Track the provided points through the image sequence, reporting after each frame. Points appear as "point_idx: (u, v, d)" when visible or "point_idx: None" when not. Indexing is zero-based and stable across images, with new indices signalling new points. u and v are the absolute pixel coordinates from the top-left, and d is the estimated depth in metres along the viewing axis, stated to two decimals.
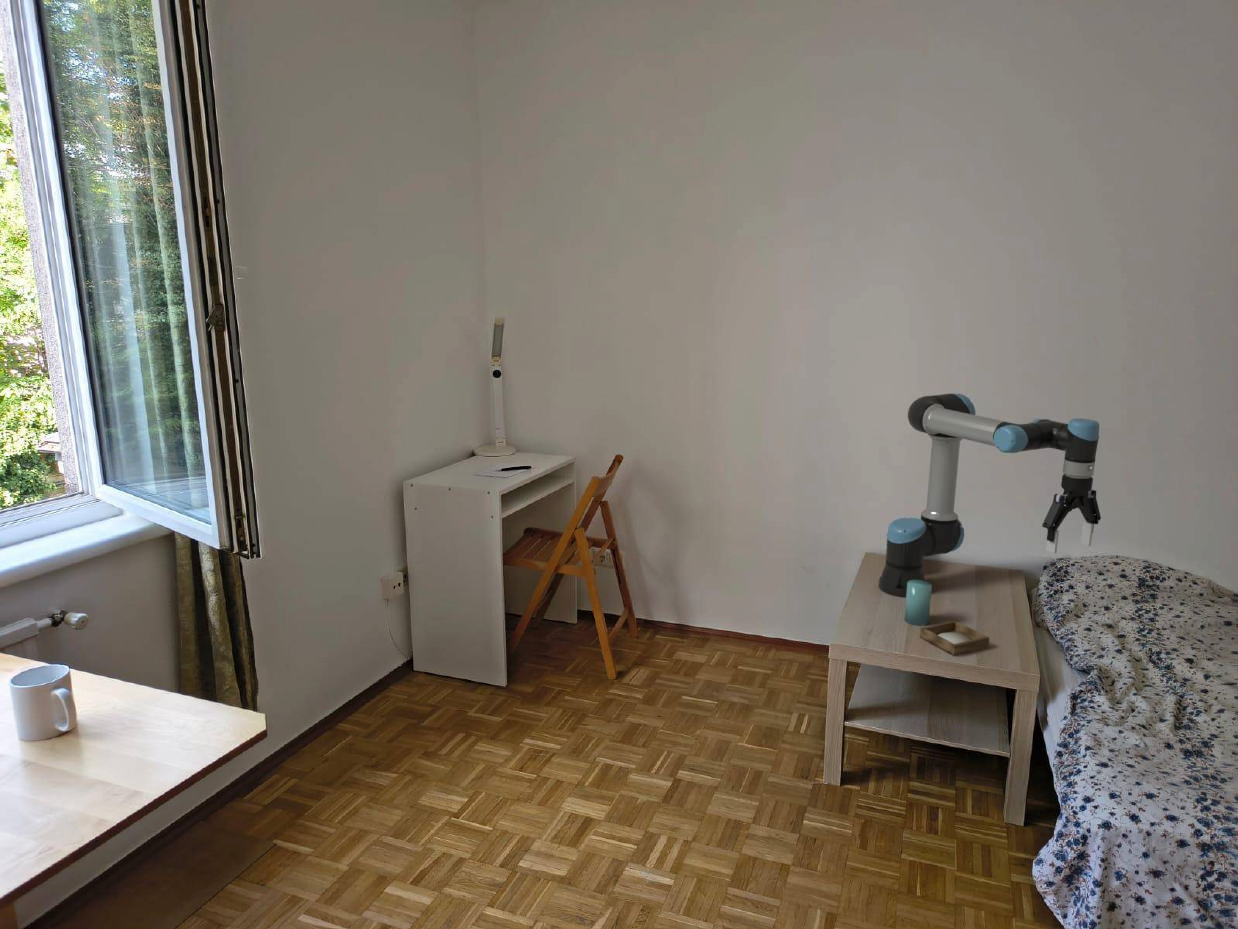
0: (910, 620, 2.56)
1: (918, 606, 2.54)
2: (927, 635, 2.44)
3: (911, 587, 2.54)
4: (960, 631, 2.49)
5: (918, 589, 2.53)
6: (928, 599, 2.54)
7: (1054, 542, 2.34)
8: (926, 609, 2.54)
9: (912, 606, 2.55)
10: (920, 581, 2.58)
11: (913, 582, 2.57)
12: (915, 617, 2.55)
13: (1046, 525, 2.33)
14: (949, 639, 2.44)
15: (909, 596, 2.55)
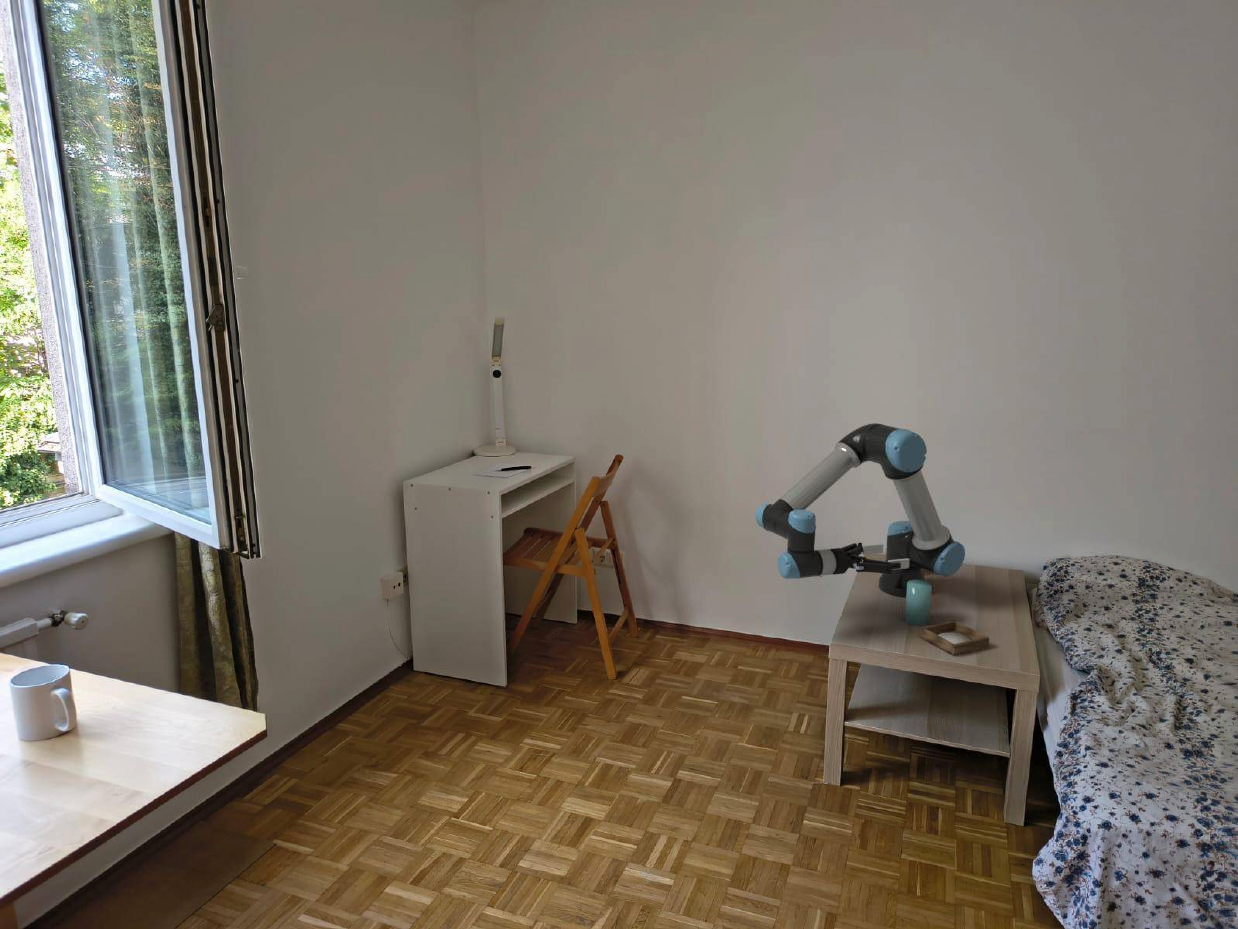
0: (910, 620, 2.56)
1: (918, 606, 2.54)
2: (927, 635, 2.44)
3: (911, 587, 2.54)
4: (960, 631, 2.49)
5: (918, 589, 2.53)
6: (928, 599, 2.54)
7: None
8: (926, 609, 2.54)
9: (912, 606, 2.55)
10: (920, 581, 2.58)
11: (913, 582, 2.57)
12: (915, 617, 2.55)
13: None
14: (949, 639, 2.44)
15: (909, 596, 2.55)
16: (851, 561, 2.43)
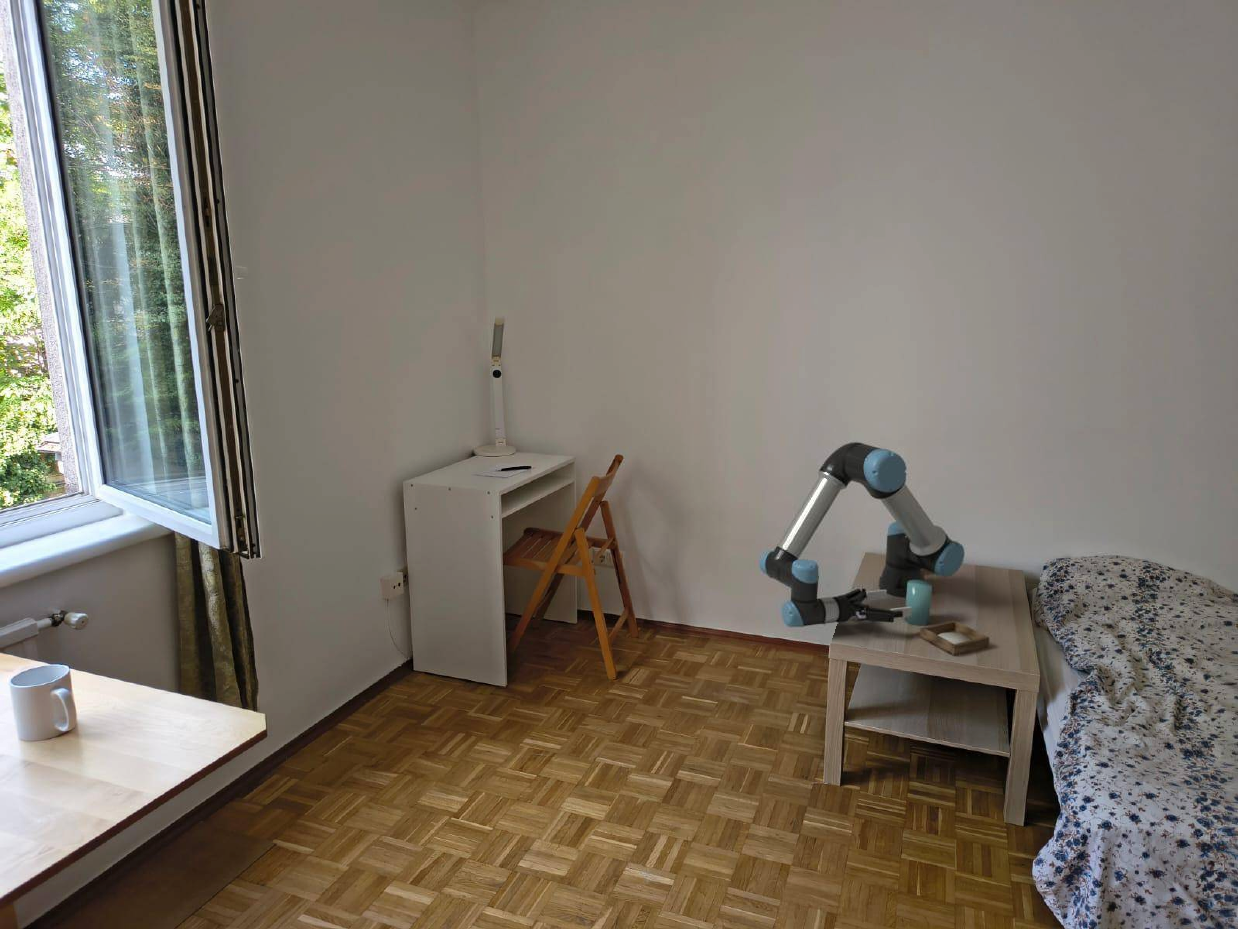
0: (910, 620, 2.56)
1: (919, 606, 2.54)
2: (927, 635, 2.44)
3: (911, 587, 2.54)
4: (960, 631, 2.49)
5: (918, 589, 2.53)
6: (928, 599, 2.54)
7: None
8: (926, 609, 2.54)
9: (912, 606, 2.55)
10: (920, 581, 2.58)
11: (913, 582, 2.57)
12: (915, 617, 2.55)
13: None
14: (949, 639, 2.44)
15: (909, 596, 2.55)
16: (854, 609, 2.48)
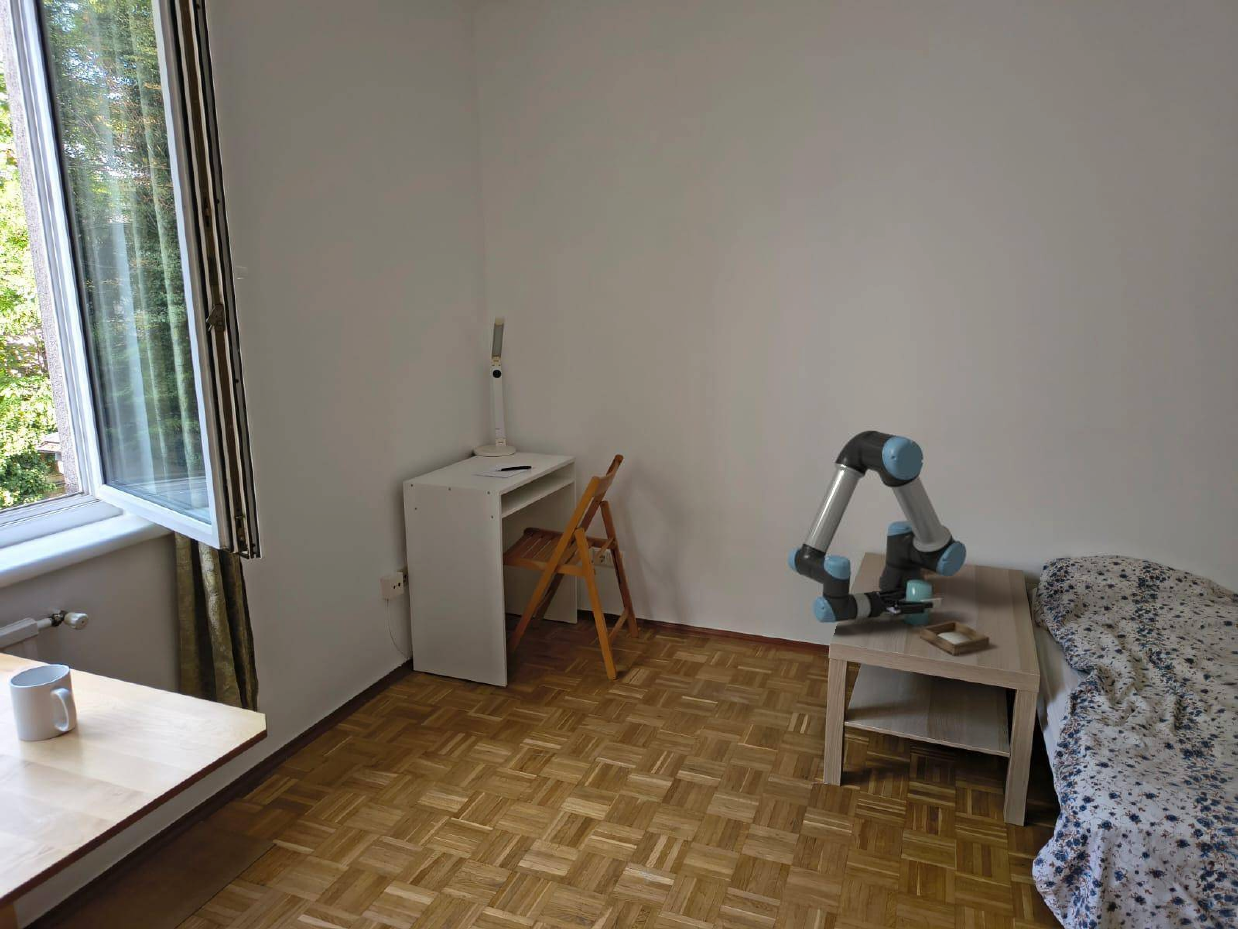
0: (910, 619, 2.56)
1: None
2: (927, 635, 2.44)
3: (911, 587, 2.54)
4: (960, 631, 2.49)
5: (918, 589, 2.53)
6: None
7: None
8: (926, 609, 2.54)
9: None
10: (920, 581, 2.58)
11: (913, 582, 2.57)
12: (915, 617, 2.55)
13: None
14: (949, 639, 2.44)
15: (909, 596, 2.55)
16: (886, 605, 2.50)
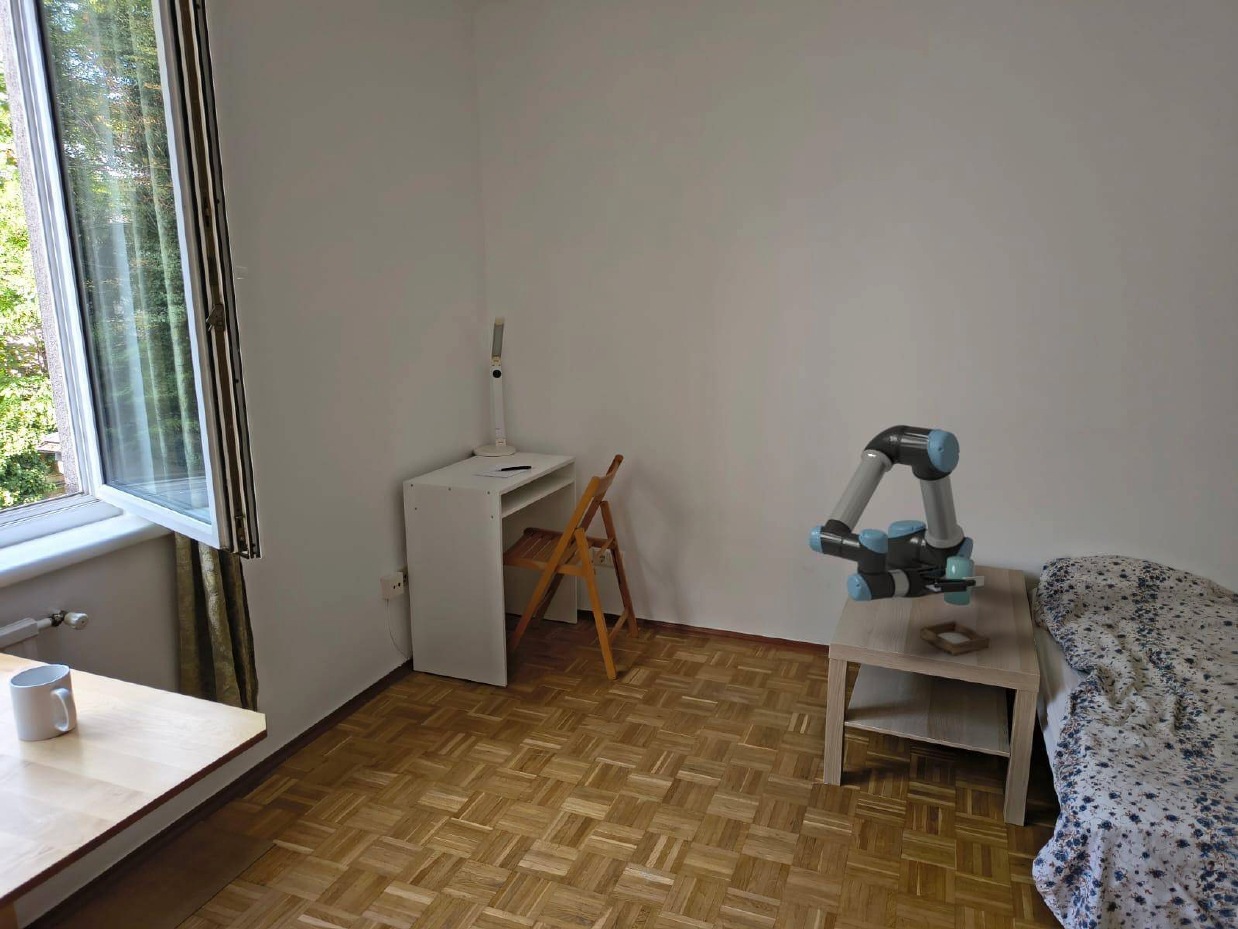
0: (950, 599, 2.39)
1: None
2: (927, 635, 2.44)
3: (952, 564, 2.37)
4: (960, 631, 2.49)
5: (959, 565, 2.35)
6: (970, 576, 2.36)
7: None
8: (968, 588, 2.37)
9: None
10: (961, 558, 2.40)
11: (953, 558, 2.40)
12: (956, 596, 2.37)
13: None
14: (949, 639, 2.44)
15: (950, 573, 2.38)
16: (926, 583, 2.33)
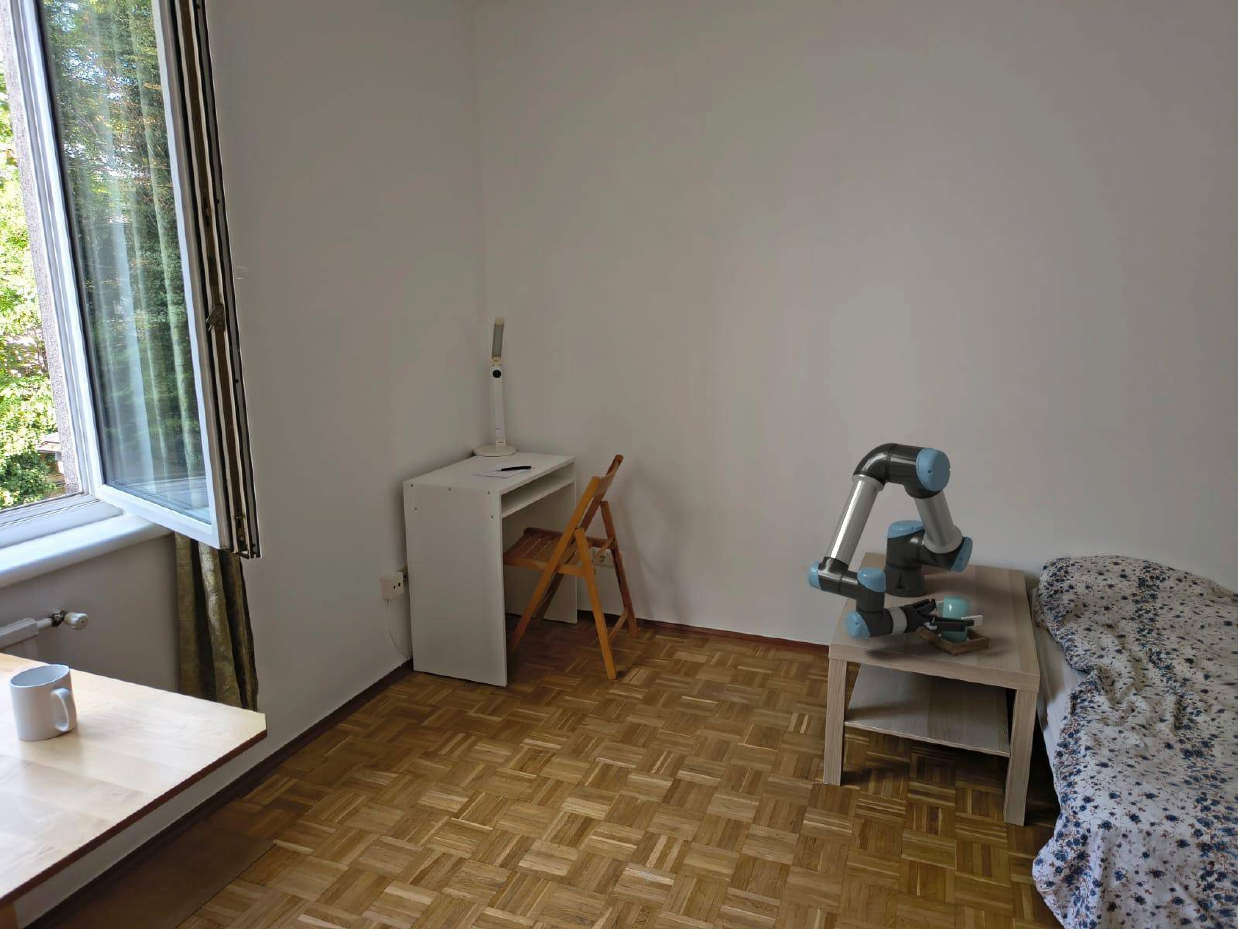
0: (947, 638, 2.41)
1: None
2: (927, 635, 2.44)
3: (948, 604, 2.39)
4: None
5: (956, 606, 2.38)
6: (967, 616, 2.39)
7: None
8: None
9: None
10: (957, 597, 2.43)
11: (950, 598, 2.42)
12: (952, 635, 2.40)
13: None
14: None
15: (946, 613, 2.40)
16: (923, 620, 2.35)
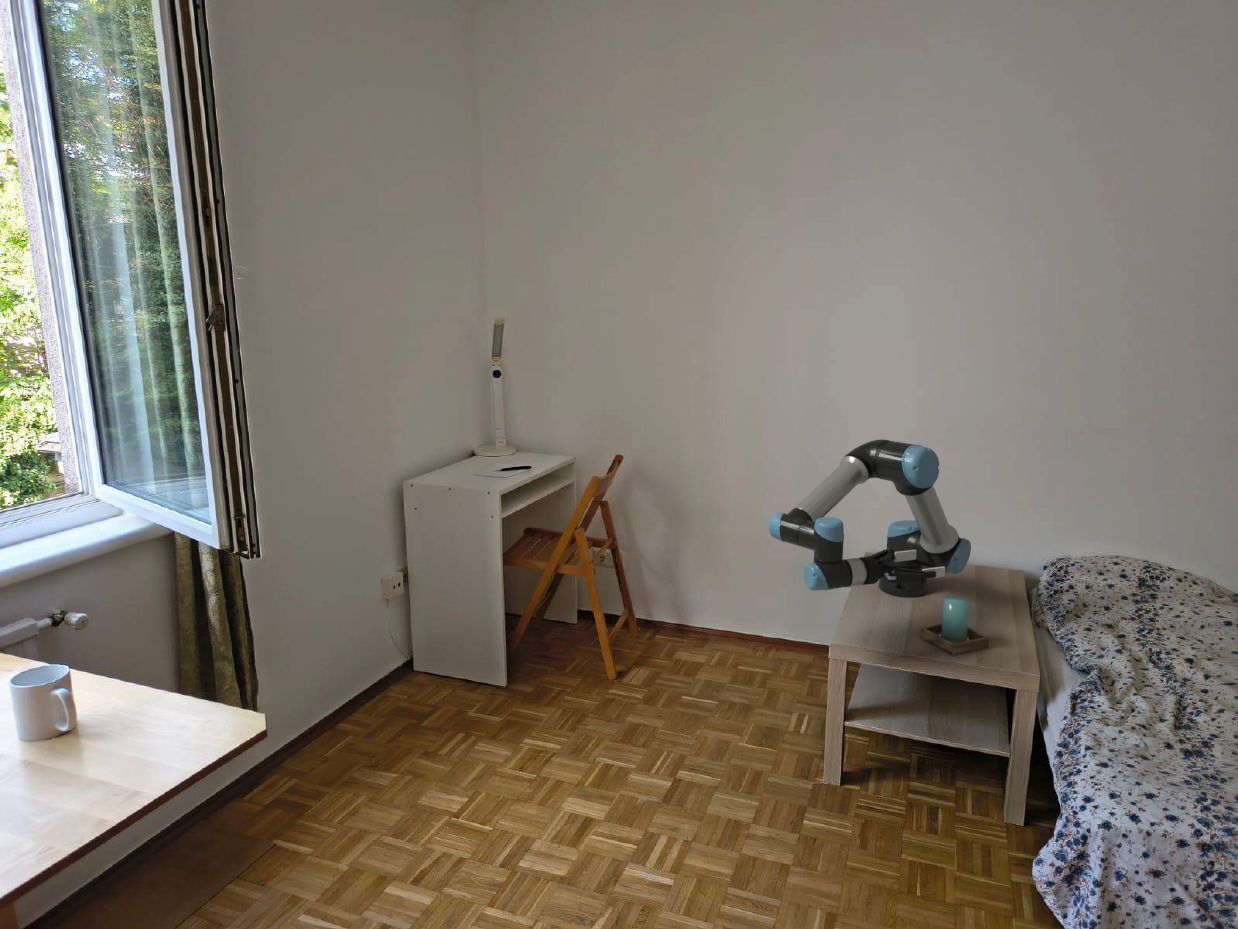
0: (947, 638, 2.41)
1: (957, 624, 2.39)
2: (927, 635, 2.44)
3: (949, 604, 2.39)
4: None
5: (956, 606, 2.38)
6: (967, 616, 2.39)
7: None
8: (964, 627, 2.40)
9: (950, 623, 2.40)
10: (957, 597, 2.43)
11: (950, 598, 2.42)
12: (952, 635, 2.40)
13: None
14: None
15: (946, 613, 2.40)
16: (882, 570, 2.28)
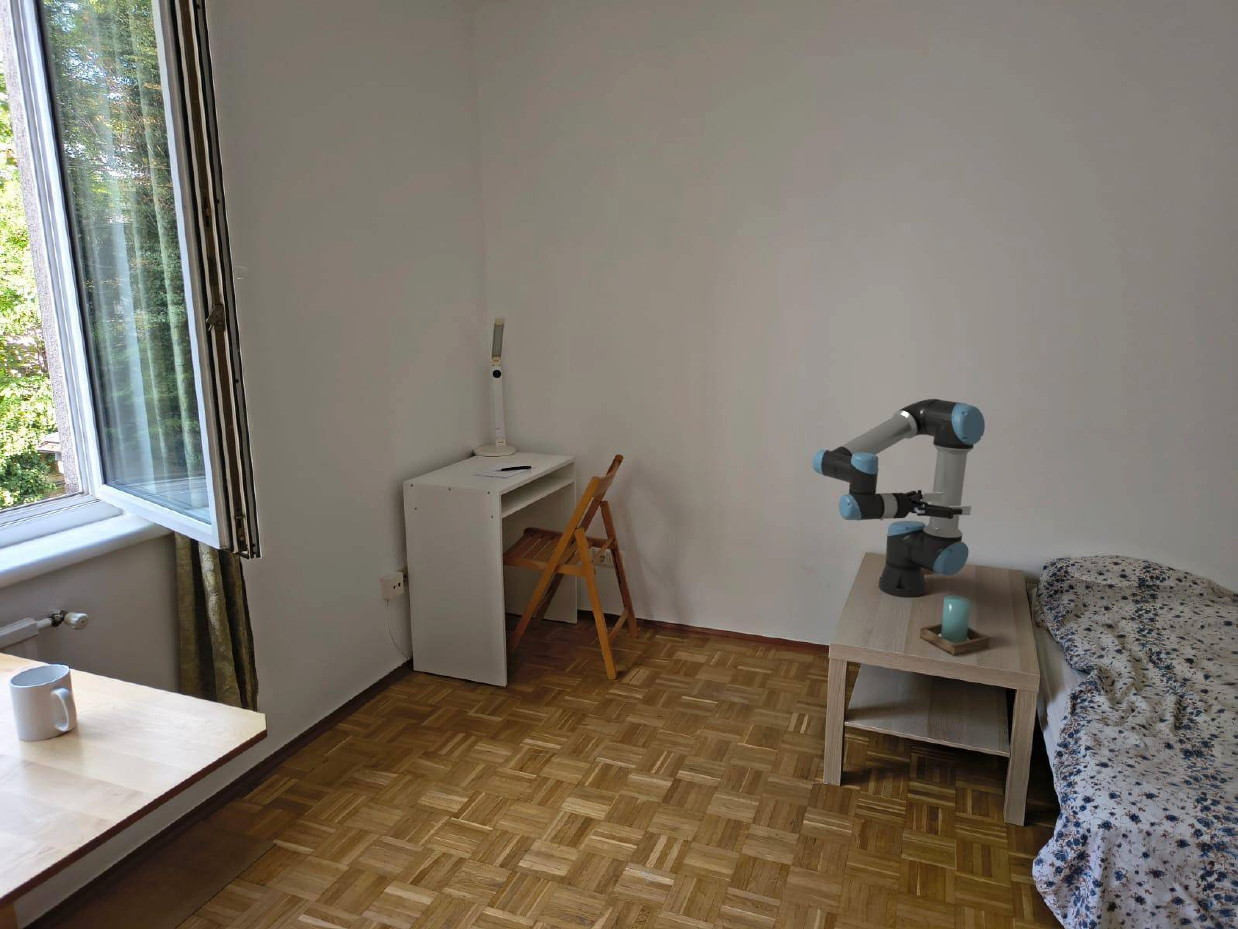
0: (947, 638, 2.41)
1: (957, 624, 2.39)
2: (927, 635, 2.44)
3: (949, 604, 2.39)
4: None
5: (956, 606, 2.38)
6: (967, 616, 2.39)
7: None
8: (964, 627, 2.40)
9: (950, 623, 2.40)
10: (957, 597, 2.43)
11: (950, 598, 2.42)
12: (952, 635, 2.40)
13: None
14: None
15: (946, 613, 2.40)
16: (912, 505, 2.46)
